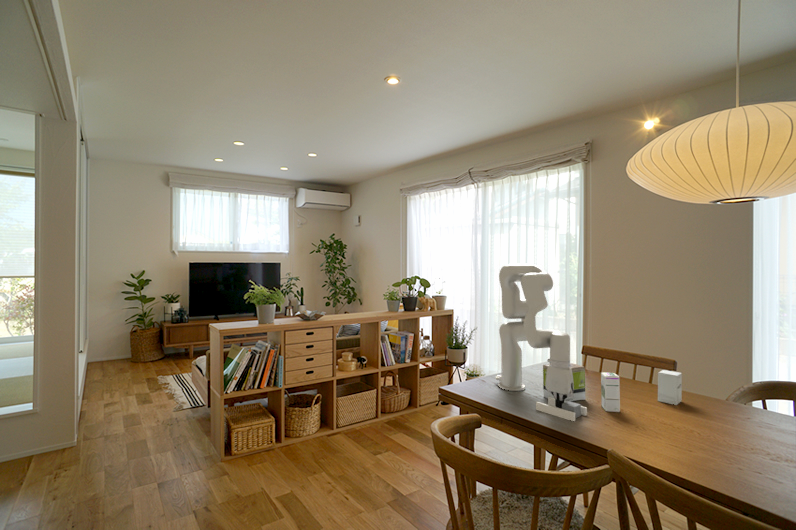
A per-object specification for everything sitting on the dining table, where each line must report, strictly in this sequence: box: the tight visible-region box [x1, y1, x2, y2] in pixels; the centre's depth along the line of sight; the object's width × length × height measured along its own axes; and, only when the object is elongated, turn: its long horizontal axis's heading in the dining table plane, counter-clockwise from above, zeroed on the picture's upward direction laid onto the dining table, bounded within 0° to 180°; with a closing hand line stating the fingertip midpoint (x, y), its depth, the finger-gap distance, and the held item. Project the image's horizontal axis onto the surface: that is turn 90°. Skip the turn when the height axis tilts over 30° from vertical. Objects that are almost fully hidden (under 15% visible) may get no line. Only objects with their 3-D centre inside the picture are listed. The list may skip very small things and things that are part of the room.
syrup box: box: [600, 372, 621, 413], centre depth 165 cm, size 6×6×14 cm
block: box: [562, 401, 582, 419], centre depth 158 cm, size 5×5×4 cm
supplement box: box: [657, 369, 683, 406], centre depth 175 cm, size 7×7×13 cm
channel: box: [535, 397, 588, 422], centre depth 162 cm, size 16×10×3 cm, turn 39°
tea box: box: [542, 362, 587, 402], centre depth 179 cm, size 15×10×15 cm, turn 108°
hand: (559, 409), depth 162 cm, fingers closed
